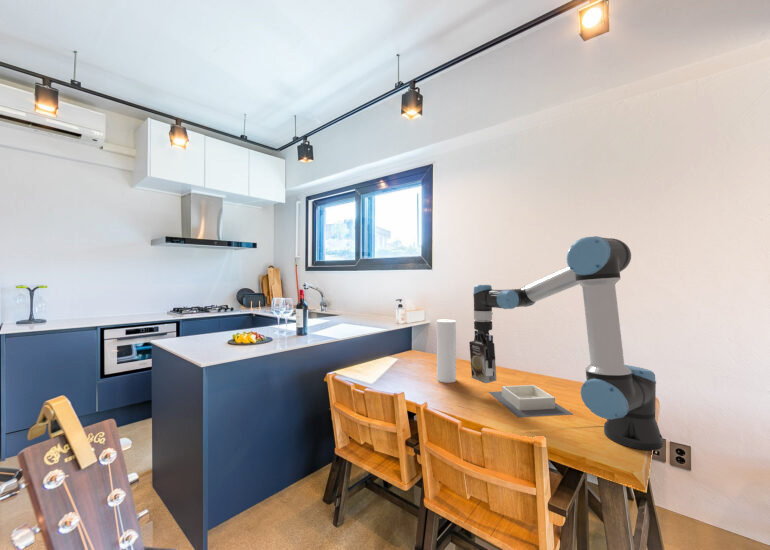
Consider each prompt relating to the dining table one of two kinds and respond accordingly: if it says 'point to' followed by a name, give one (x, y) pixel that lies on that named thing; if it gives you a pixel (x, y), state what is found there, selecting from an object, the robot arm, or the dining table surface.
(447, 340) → the cylinder container
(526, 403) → the tray
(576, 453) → the dining table surface
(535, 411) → the mat
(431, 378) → the dining table surface
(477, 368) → the coffee box
